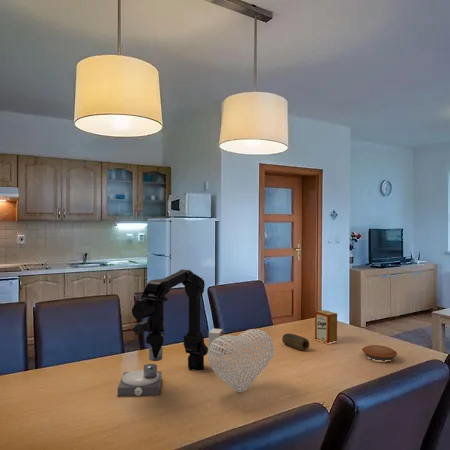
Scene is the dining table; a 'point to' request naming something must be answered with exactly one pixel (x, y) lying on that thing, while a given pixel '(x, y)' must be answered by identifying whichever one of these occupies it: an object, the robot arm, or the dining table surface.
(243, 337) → the heart
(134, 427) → the dining table surface
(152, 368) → the cylinder
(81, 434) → the dining table surface
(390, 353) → the pie
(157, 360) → the cylinder
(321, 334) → the baking soda box
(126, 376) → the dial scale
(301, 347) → the stone weight
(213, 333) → the small box
